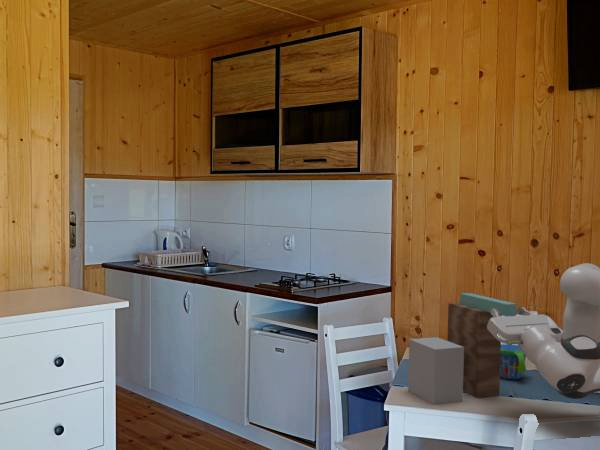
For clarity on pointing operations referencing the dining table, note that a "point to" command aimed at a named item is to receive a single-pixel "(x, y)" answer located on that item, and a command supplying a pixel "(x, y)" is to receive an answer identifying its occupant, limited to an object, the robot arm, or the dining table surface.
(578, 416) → the dining table surface
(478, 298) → the batten
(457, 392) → the base block
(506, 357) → the snack cup
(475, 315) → the walnut stand
